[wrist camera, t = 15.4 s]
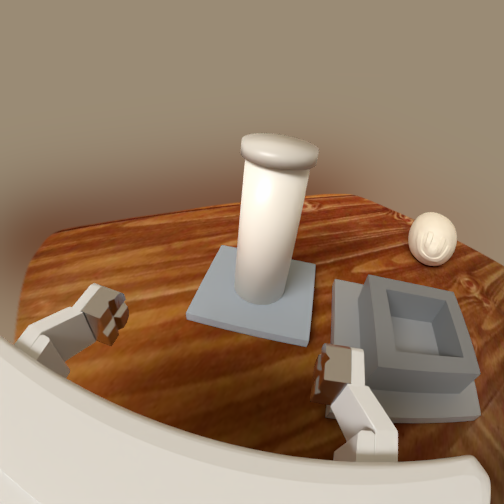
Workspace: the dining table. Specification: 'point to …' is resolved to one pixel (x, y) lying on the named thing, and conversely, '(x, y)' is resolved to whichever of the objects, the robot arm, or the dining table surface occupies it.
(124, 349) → the dining table surface
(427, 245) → the cream rounded ball
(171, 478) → the robot arm
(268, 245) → the plug
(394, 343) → the socket collar
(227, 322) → the mat
